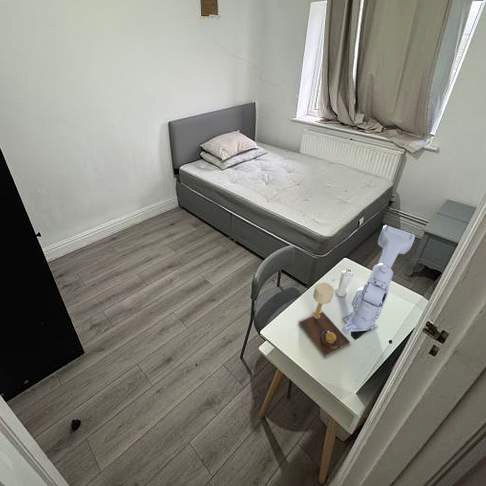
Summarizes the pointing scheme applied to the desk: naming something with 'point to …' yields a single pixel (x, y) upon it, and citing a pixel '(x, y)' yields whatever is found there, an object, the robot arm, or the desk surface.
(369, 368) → the desk surface
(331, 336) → the lamp switch
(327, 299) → the lamp
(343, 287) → the perfume bottle
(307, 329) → the lamp base
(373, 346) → the desk surface
